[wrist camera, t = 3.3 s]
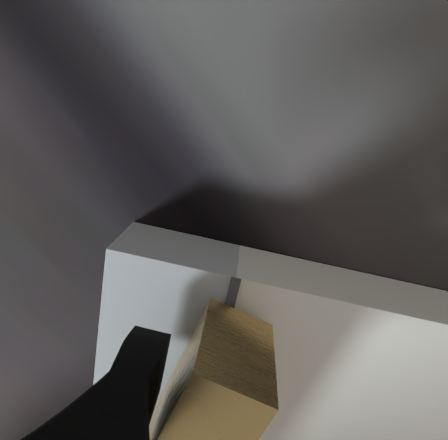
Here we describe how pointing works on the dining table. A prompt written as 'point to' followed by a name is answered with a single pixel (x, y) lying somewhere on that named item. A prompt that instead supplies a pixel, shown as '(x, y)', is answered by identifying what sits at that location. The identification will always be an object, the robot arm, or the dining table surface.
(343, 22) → the dining table surface
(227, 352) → the bar
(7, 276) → the dining table surface
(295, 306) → the white panel
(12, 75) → the dining table surface
